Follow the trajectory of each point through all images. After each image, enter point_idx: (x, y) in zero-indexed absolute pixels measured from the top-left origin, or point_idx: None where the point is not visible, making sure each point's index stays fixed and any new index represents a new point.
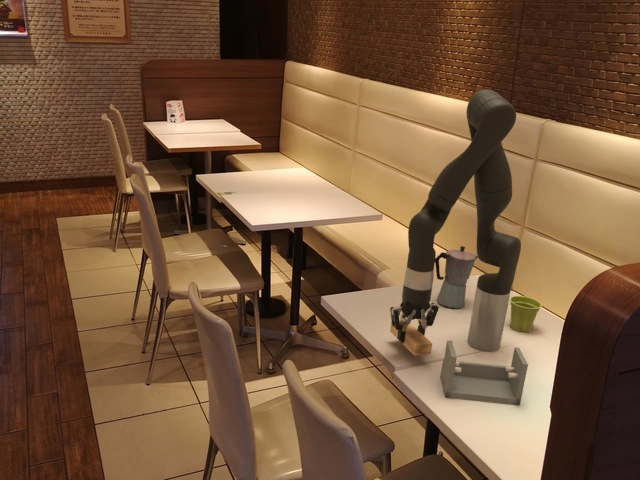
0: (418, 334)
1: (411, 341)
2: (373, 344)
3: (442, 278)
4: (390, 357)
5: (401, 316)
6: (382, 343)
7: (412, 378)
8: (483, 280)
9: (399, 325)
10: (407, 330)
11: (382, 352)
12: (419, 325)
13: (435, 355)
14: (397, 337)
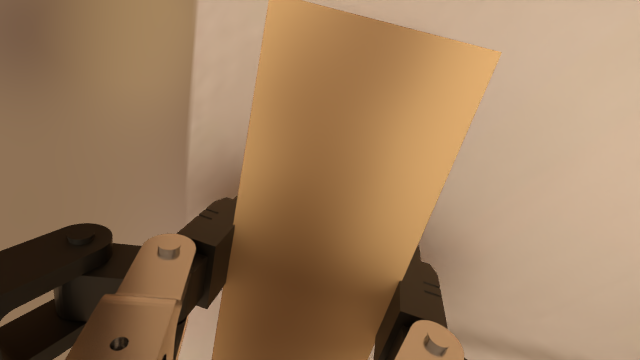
0: (336, 333)
1: (212, 354)
2: (199, 4)
3: None
4: (208, 183)
5: (92, 331)
6: (263, 22)
7: (197, 344)
8: None
9: (70, 342)
10: (299, 239)
11: (197, 119)
12: (402, 335)
13: (452, 295)
14: (213, 205)
